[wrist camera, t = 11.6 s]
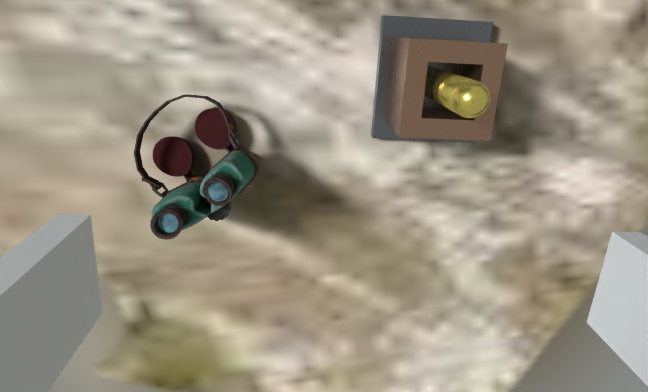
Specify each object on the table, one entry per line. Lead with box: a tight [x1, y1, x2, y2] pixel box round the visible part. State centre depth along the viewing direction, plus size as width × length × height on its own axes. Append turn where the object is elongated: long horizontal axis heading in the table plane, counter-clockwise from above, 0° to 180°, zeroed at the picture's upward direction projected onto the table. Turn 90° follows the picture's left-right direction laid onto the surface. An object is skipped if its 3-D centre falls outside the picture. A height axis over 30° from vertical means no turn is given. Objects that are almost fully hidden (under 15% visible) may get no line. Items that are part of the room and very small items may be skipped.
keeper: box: [371, 16, 493, 142], centre depth 35 cm, size 10×9×12 cm
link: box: [386, 37, 508, 141], centre depth 37 cm, size 7×7×6 cm
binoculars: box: [134, 95, 258, 239], centre depth 37 cm, size 9×11×10 cm
